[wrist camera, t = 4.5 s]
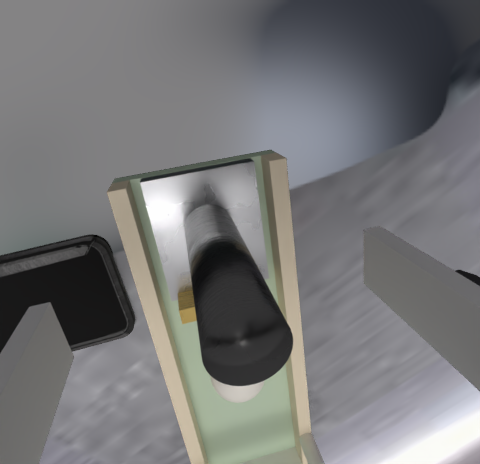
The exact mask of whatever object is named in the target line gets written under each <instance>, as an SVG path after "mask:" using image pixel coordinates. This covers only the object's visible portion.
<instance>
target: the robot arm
mask: <svg viewBox="0 0 480 464" xmlns="http://www.w3.org/2000/svg"><path fill="white" fill-rule="evenodd" d="M364 284H365V285H366V286H367V287H368V288H369V289H370V290H372V291H373V292H374V293H375V294H376V295H377V296H378V297H379V298H380V299H381V300H382V301H383V302H384V303H386V304H387V305H388V306H389V307H390V308H391V309H392V310H393V311H394V312H395V313H396V314H397V315H398V316H399V317H401V318H402V319H403V320H404V321H405V322H406V323H407V324H408V325H409V326H410V327H411V328H412V329H413V330H415V331H416V332H417V333H418V334H419V335H420V336H421V337H422V338H423V339H424V340H425V341H426V342H427V343H428V344H430V345H431V346H432V347H433V348H434V349H435V350H436V351H437V352H438V353H439V354H440V355H441V356H442V357H444V358H445V359H446V360H447V361H448V362H449V363H450V364H451V365H452V366H453V367H454V368H455V369H456V370H458V371H459V372H460V373H461V374H462V375H463V376H464V377H465V378H466V379H467V380H468V381H469V382H470V383H471V384H473V385H474V386H475V387H476V388H477V389H478V390H479V391H480V277H478V276H476V275H474V274H471V273H468V272H465V271H461V270H457V271H454V270H452V269H450V268H449V267H447V266H445V265H444V264H442V263H440V262H439V261H437V260H435V259H434V258H432V257H430V256H429V255H427V254H425V253H424V252H422V251H420V250H419V249H417V248H415V247H414V246H412V245H410V244H409V243H407V242H405V241H404V240H402V239H400V238H399V237H397V236H395V235H394V234H392V233H391V232H389V231H387V230H386V229H384V228H382V227H381V226H377V227H373V228H369V229H364ZM73 359H74V355H73V353H72V351H71V349H70V346H69V344H68V342H67V339H66V337H65V335H64V333H63V330H62V328H61V326H60V323H59V321H58V319H57V317H56V314H55V312H54V310H53V307H52V305H51V303H50V302H48V303H44V304H39V305H35V306H31V307H29V308H28V310H27V311H26V313H25V314H24V316H23V318H22V319H21V321H20V322H19V324H18V326H17V327H16V329H15V331H14V332H13V334H12V335H11V337H10V339H9V340H8V342H7V343H6V345H5V347H4V348H3V350H2V352H1V353H0V464H39V461H40V458H41V455H42V452H43V449H44V446H45V443H46V440H47V437H48V434H49V431H50V428H51V425H52V422H53V419H54V416H55V413H56V410H57V407H58V404H59V401H60V398H61V395H62V392H63V389H64V386H65V383H66V380H67V377H68V374H69V371H70V368H71V365H72V362H73Z"/></svg>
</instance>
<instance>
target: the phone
mask: <svg viewBox="0 0 480 464" xmlns="http://www.w3.org/2000/svg"><path fill="white" fill-rule="evenodd" d="M112 255H113V252H112V249H111V246H110V245H109V243H108V241H107V240H105V239H104V238H103V237H101V236H98V235H93V234H91V235H84V236H80V237H76V238H72V239H67V240H63V241H59V242H54V243H50V244H46V245H42V246H38V247H33V248H29V249H25V250H21V251H16V252H13V253H8V254H4V255H0V353H1V352H2V350H3V348H4V347H5V345H6V343H7V342H8V340H9V339H10V337H11V335H12V334H13V332H14V331H15V329H16V327H17V326H18V324H19V322H20V321H21V319H22V318H23V316H24V314H25V313H26V311H27V310H28V308H29V307H31V306H35V305H39V304H44V303H48V302H50V303H51V305H52V307H53V310H54V312H55V314H56V317H57V319H58V321H59V323H60V326H61V328H62V330H63V333H64V335H65V337H66V339H67V342H68V344H69V346H70V349H71V351H76V350H80V349H83V348H87V347H91V346H94V345H98V344H102V343H105V342H109V341H113V340H116V339H120V338H123V337H126V336H127V335H129V334H130V333H131V332H132V330H133V328H134V322H135V315H134V312H133V309H132V307H131V304H130V301H129V299H128V296H127V293H126V291H125V288H124V285H123V282H122V280H121V277H120V274H119V272H118V269H117V266H116V264H115V261H114V258H113V256H112ZM131 309H132V310H131Z"/></svg>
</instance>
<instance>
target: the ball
mask: <svg viewBox="0 0 480 464" xmlns="http://www.w3.org/2000/svg"><path fill="white" fill-rule="evenodd" d="M210 379H211V383H212V385H213V387H214V389H215V391H216V392H217V393H218V394H219V395H220V396H221V397H222V398H224V399H225V400H227V401H230V402H234V403H242V402H246V401H249V400H251V399H252V398H254V397H255V396H256V395H257V394H258V393H259V392H260V390H261V389H262V387H263V385H264V382H265V380H264V381H262V382H260V383H256V384H253V385H248V386H231V385H226V384H223V383H221V382H219V381H217V380H215V379H214V378H213V377H211V376H210Z"/></svg>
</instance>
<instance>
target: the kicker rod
mask: <svg viewBox="0 0 480 464" xmlns="http://www.w3.org/2000/svg"><path fill="white" fill-rule="evenodd" d="M140 185H141V188H142V192H143V196H144V200H145V203H146V207H147V211H148V214H149V218H150V222H151V226H152V229H153V233H154V237H155V241H156V244H157V248H158V252H159V255H160V259H161V263H162V267H163V270H164V274H165V278H166V282H167V285H168V289H169V293H170V296H171V300H172V301H175V300H178V306H179V313H180V317H181V321H182V324H186V323H190V322H194V321H197V326H198V334H199V341H200V349H201V356H202V362H203V365H204V367H205V369H206V371H207V372H208V373H209V375H210V376H211V377H213V378H214V379H215V380H217V381H219V382H221V383H223V384H226V385H231V386H248V385H253V384H256V383H260V382H262V381H264V380H266V379H268V378H270V377H271V376H273V375H274V374H276V373H277V372H278V371H279V370H280V369H281V368H282V367H283V366H284V365H285V363H286V362H287V360H288V359H289V357H290V355H291V352H292V348H293V335H292V332H291V329H290V327H289V325H288V323H287V321H286V320H285V318H284V316H283V314H282V312H281V310H280V308H279V306H278V304H277V302H276V301H275V299H274V297H273V295H272V293H271V291H270V289H269V287H268V285H267V284H266V282H265V280H264V279H269V273H268V265H267V258H266V250H265V242H264V234H263V226H262V219H261V211H260V203H259V195H258V188H257V180H256V172H255V164H254V161H253V160H252V159H251V158H248V159H243V160H238V161H232V162H227V163H222V164H216V165H211V166H206V167H200V168H195V169H190V170H184V171H179V172H174V173H168V174H163V175H158V176H152V177H147V178H142V179H141V181H140Z"/></svg>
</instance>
